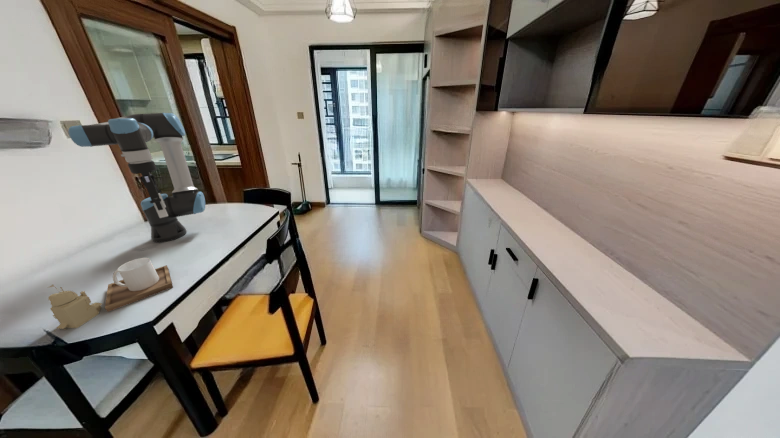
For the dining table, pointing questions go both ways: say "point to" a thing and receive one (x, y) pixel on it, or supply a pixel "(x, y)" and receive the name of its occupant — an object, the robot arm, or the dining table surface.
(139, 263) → the mug
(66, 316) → the robot
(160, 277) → the tray
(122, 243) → the dining table surface
